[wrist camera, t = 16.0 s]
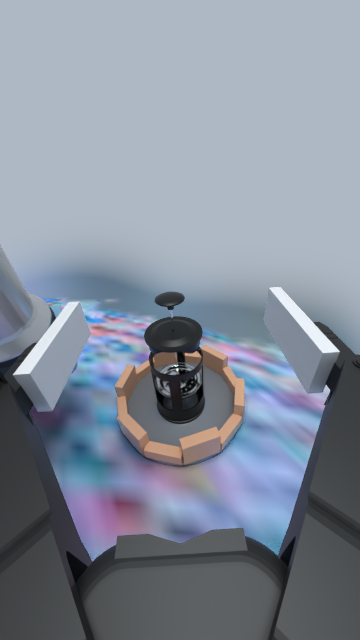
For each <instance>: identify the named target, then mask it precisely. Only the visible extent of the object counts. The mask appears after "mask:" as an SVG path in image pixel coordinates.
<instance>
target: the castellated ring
mask: <svg viewBox="0 0 360 640" xmlns="http://www.w3.org/2000/svg"><path fill="white" fill-rule="evenodd" d="M201 350H202V353H203V380H204V397H205V407H204V410H203V411H202V413H201V414H200V416H199V417H198V418H196V419H195V420H193V421H191V422H189V423H185V424H174V423H171V422H169V421H167V420H165V419H164V418H163V417H162V416H161V415H160V414H159V412H158V409H157V398H156V393H155V388H154V383H153V378H152V373H151V368H150V363H149V359H148V360H147V361H146V362H144V363H143V364H141V365H140V366H139V367H137V368H136V369H135V366H134V365H127V366H126V368H125V370H124V371H123V373H122V375H121V377H120V378H119V380H118V382H117V383H116V385H115V390H116V393H117V396H118V397H117V404H118V416H117V420H118V422H119V425H120V428H121V431H122V433H123V434H124V435H125V436H126V437H127V438H128V440H129V442H130V443H131V444H132V446H133V447H134V448H135V449H136V450H137V451H138V452H139V453H141V454H142V455H143V456H145V457H147V458H149V459H151V460H153V461H155V462H158V463H162V464H166V465H172V466H185V465H192V464H196V463H200V462H203V461H205V460H207V459H210V458H212V457H213V456H215V455H217V454H218V453H220V452H221V451H222V450H223V449H224V448H225V447H227V445H228V444H229V443H230V442H231V441H232V439H233V438H234V436H235V435H236V433H237V430H238V429H239V427H240V426H241V424H242V421H243V413H244V379H240V378H237V377H236V376H235V374H234V373H233V372H232V370H231V369H230V367H229V366H227V362H228V356H227V355H225V354H223V353H221V352H219V351H217V350H215V349H213V348H211V347H209V346H207V345H205V346H203V347H202V348H201ZM153 358H154V359H153V363H154V368H155V369H156V370H157V371H158V372H159V371H160V370H161V369H162V368H164V367H165V366H167V365H169V364H172V363H175V354H174V353H166V352H161V353H158V354H155V356H154V357H153ZM200 361H201V356H200V354H199V353H198V352H194V353H192V354H190V353H185V363H188V364H191V365H193V366H194V367H197V366H198V364H199V363H200ZM199 372H200V373H201V376H202V368H201V370H200V371H199ZM197 403H198V396H197V394H196V393H195V394H194V395H192V396H191V397H188V398H186V399H183V400H182V405H183V410H186V409H189V408H191V407H193V406H194V405H196V404H197ZM163 405H164V407H166V408H168V409H171V410H173V408H172V401H171V399H168V398H166V397H164V400H163Z"/></svg>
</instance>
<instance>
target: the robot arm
mask: <svg viewBox="0 0 360 640" xmlns="http://www.w3.org/2000/svg"><path fill="white" fill-rule="evenodd" d="M263 321H264V323H265V324H266V326H267V328H268V329H269V331H270V333H271V334H272V336H273V338H274V339H275V341H276V343H277V344H278V346H279V348H280V349H281V351H282V352H283V354H284V356H285V357H286V359H287V361H288V362H289V364H290V366H291V367H292V369H293V371H294V372H295V374H296V375H297V377H298V379H299V380H300V382H301V384H302V385H303V387H304V389H305V390H306V392H307V393H320V392H323V390H324V388H325V385H327V386H328V388H329V389H330V390H331V391H330V393H329V395H328V397H327V400H326V402H325V404H324V405H325V409H324V412H323V415H322V419H321V422H320V425H319V428H318V432H317V435H316V438H315V442H314V445H313V448H312V451H311V455H310V458H309V461H308V465H307V468H306V471H305V475H304V478H303V481H302V484H301V488H300V491H299V494H298V498H297V501H296V504H295V507H294V511H293V514H292V517H291V521H290V524H289V527H288V530H287V532H286V535H285V537H284V540H283V542H282V545H281V548H280V551H279V555H278V556H277V555H276V554H275V553H274V552H273V551H271V550H270V549H269V548H268V547H266V546H265V545H263V544H261V543H260V542H258V541H256V540H254V539H252V538H249V537H246V536H245V535H244V530H243V528H234V529H219V530H211V531H209V532H206V533H204V534H202V535H200V536H197V537H195V538H193V539H190V540H188V541H186V542H183V543H176V542H173V541H170V540H166V539H163V538H160V537H156V536H153V535H150V534H141V535H125V536H118V537H117V544H116V545H115V546H113V547H111V548H110V549H108V550H106V551H105V552H103V553H102V554H101V555H100V556H98V557H97V558H96V559H95V560H94V561H93V562H92V561H91V558H90V556H89V554H88V552H87V550H86V549H85V547H84V545H83V544H82V542H81V540H80V537H79V535H78V532H77V530H76V527H75V525H74V522H73V520H72V517H71V514H70V512H69V509H68V507H67V504H66V502H65V499H64V496H63V494H62V491H61V489H60V486H59V484H58V481H57V478H56V476H55V473H54V471H53V468H52V466H51V463H50V460H49V458H48V455H47V453H46V450H45V448H44V445H43V442H42V440H41V437H40V435H39V432H38V430H37V427H36V424H35V422H34V419H33V417H32V415H31V413H30V412H29V411H30V410H31V408H32V406H33V405H34V407H35V408H36V410H37V411H38V412H45V411H53V409H54V407H55V405H56V403H57V401H58V399H59V397H60V395H61V393H62V391H63V389H64V387H65V385H66V383H67V381H68V379H69V377H70V375H71V373H73V372H74V371H75V370H76V368H77V360H78V358H79V356H80V354H81V352H82V350H83V348H84V346H85V344H86V342H87V340H88V338H89V336H90V334H91V333H90V330H89V327H88V324H87V322H86V319H85V316H84V313H83V310H82V307H81V305H80V302H69V303H68V304H67V305H66V306H65V308H64V309H63V310H62V308H61V307H60V306H57V305H56V306H52V305H51V306H48V305H47V304H46V302H45V301H44V300H43V299H41V298H40V297H38V296H36V295H33V294H30V293H27V292H26V290H25V288H24V287H23V285H22V283H21V281H20V280H19V278H18V276H17V274H16V272H15V271H14V269H13V267H12V265H11V264H10V262H9V260H8V258H7V257H6V255H5V253H4V251H3V249H2V248H1V246H0V640H360V355H355V354H354V353H353V352H352V351H351V350H350V349H349V348H348V347H347V346H346V345H345V344H344V343H343V342H342V341H341V340H340V339H338V337H337V336H336V335H335V334H334V333H333V332H332V331H331V330H330V329H329V328H328V327H327V326H325V325H324V324H322V323H320V322H312V321H311V320H310V319H309V318H308V317H307V316H306V315H305V313H304V312H303V311H302V310H301V309H300V308H299V307H298V306H297V305H296V304H295V303H294V302H293V300H292V299H291V298H290V297H289V296H288V295H287V294H286V293H285V292H284V291H283V290H282V289H281V288H280V287H277V288H276V287H275V288H269V291H268V297H267V303H266V309H265V314H264V320H263Z"/></svg>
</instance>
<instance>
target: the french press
mask: <svg viewBox="0 0 360 640" xmlns="http://www.w3.org/2000/svg"><path fill="white" fill-rule="evenodd" d="M184 299H185V298H184V296H183V294H181V293H178V292H166V293H162V294H160V295H158V296H157V297H156V298H155V302H156V304H158V305H160V306H165V307H167V308H168V310H170V317H167V318H163V319H160V320H158V321H156V322H154V323H152V324H151V325H150V326H149V327H148V328H147V329H146V331H145V334H144V338H145V342H146V343H147V345H148V346H149V348H150V351H151V353H150V355H149V363H150V368H151V373H152V378H153V383H154V388H155V393H156V398H157V409H158V412H159V414H160V415H161V416H162V417H163V418H164V419H165V420H167V421H169V422H171V423H174V424H185V423H189V422H191V421H193V420H195V419H196V418H198V417H199V416H200V414H201V413H202V411H203V410H204V407H205V397H204V380H203V353H202V350H201V348H200V347H199V344H200V340H201V337H202V328H201V326H200V325H199V324H198V323H197V322H196V321H194V320H192V319H190V318H186V317H173V314H172V310H173V309H174V306H175V305H178V304H180V303H182V302H183V301H184ZM196 351H197V352H198V353H199V354H200V356H201V361H200V363H199V364H198V366H197V367H194V366H193V365H191V364H188V363H185V353H190V354H192V353H194V352H196ZM161 352H166V353H174V354H175V363H172V364H169V365H167V366H165V367H164V368H162V369H161V370H160V371H159V372H158V371H157V370H156V369H155V368H154V363H153V357H154V356H155V354H158V353H161ZM201 368H202V376H201V373H200V372H199V371H200V370H201ZM195 393H196V394H197V396H198V403H197V404H196V405H194V406H193V407H191V408H189V409H186V410H183V405H182V400H183V399H186V398H188V397H191V396H192V395H194V394H195ZM164 397H166V398H168V399H171V401H172V408H173V410H171V409H168V408H166V407H164V405H163V400H164Z"/></svg>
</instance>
